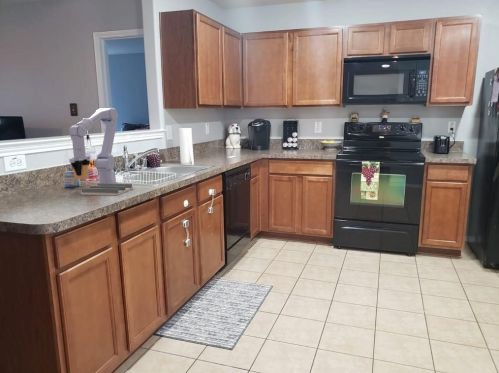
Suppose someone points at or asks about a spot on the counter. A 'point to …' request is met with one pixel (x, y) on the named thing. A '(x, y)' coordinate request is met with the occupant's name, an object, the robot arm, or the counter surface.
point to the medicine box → (71, 180)
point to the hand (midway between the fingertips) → (81, 174)
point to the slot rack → (106, 189)
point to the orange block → (82, 173)
